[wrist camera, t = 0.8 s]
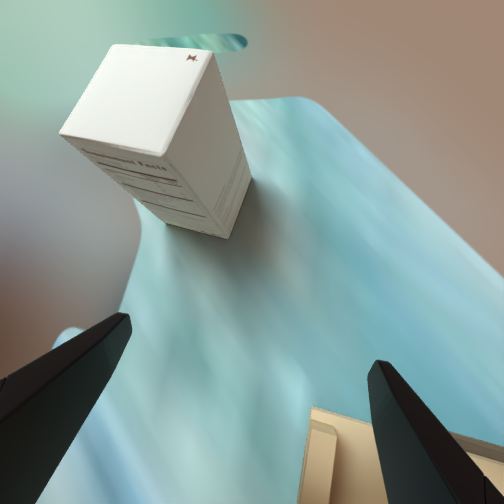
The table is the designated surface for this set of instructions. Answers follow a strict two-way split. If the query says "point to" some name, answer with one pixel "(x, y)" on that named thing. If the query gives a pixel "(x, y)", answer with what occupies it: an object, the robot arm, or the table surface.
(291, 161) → the table surface
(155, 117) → the supplement box
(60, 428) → the robot arm
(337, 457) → the lid
